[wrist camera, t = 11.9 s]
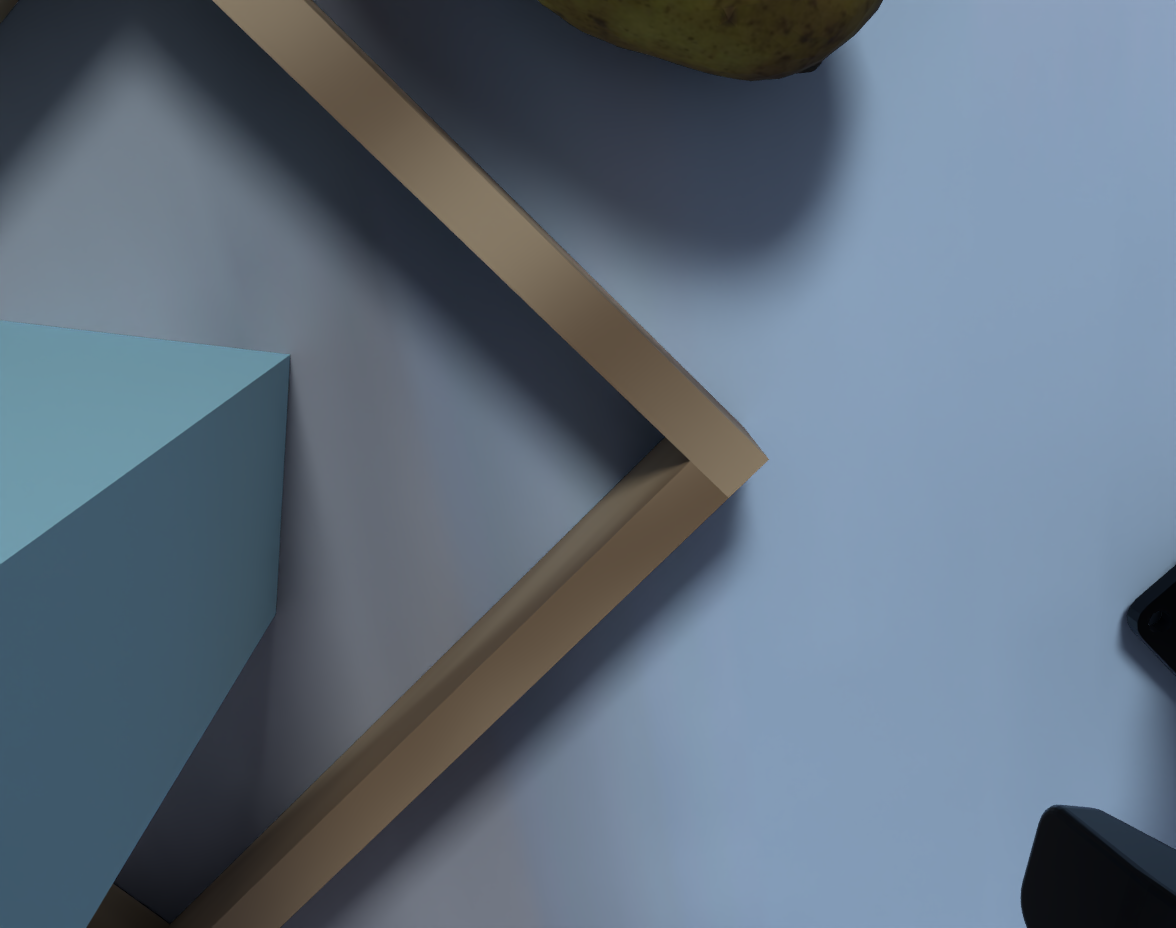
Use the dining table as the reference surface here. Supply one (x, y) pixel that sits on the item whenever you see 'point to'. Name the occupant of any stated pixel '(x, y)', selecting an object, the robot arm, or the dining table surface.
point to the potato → (724, 31)
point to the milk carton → (121, 587)
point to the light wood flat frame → (558, 581)
